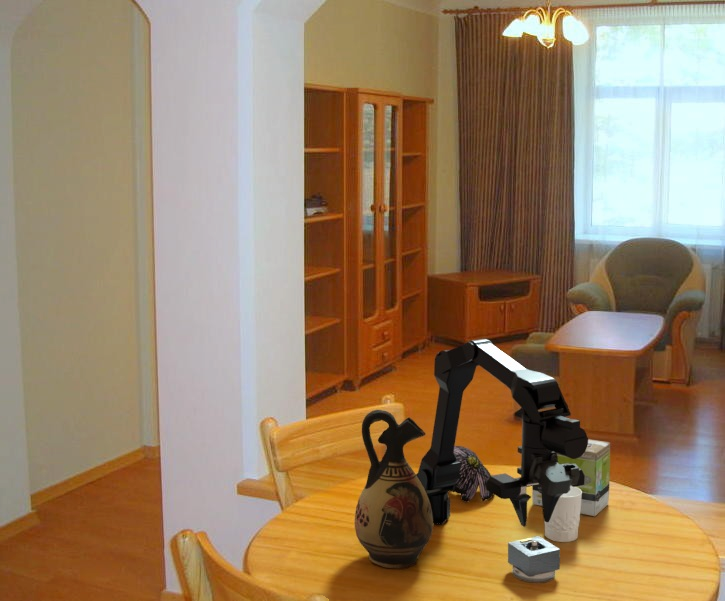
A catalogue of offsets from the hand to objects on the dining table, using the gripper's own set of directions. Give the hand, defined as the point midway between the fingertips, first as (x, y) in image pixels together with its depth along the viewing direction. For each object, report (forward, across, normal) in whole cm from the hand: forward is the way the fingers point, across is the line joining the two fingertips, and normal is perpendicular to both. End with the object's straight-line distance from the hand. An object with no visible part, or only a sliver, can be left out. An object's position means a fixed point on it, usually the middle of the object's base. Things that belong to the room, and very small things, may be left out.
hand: (535, 523), depth 185 cm
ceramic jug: (+10, -22, +18) cm, 30 cm away
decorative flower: (+10, +10, +42) cm, 45 cm away
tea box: (+10, +28, +27) cm, 40 cm away
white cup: (+10, +16, +13) cm, 23 cm away
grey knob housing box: (+8, 0, 0) cm, 8 cm away
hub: (+10, 0, 0) cm, 10 cm away
